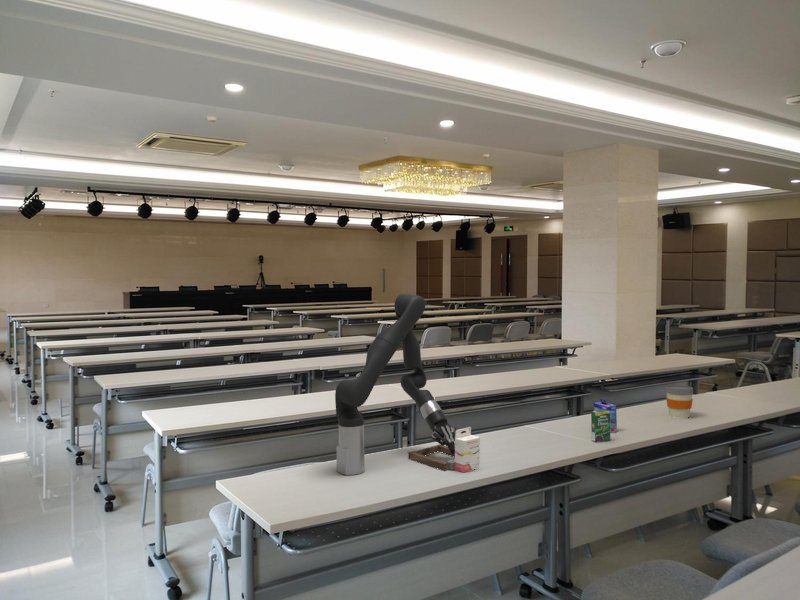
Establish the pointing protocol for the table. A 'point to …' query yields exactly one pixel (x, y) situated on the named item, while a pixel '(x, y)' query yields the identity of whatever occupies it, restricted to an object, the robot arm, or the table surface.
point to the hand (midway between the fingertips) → (455, 452)
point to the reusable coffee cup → (679, 400)
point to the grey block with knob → (451, 464)
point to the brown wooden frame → (420, 457)
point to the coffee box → (600, 425)
